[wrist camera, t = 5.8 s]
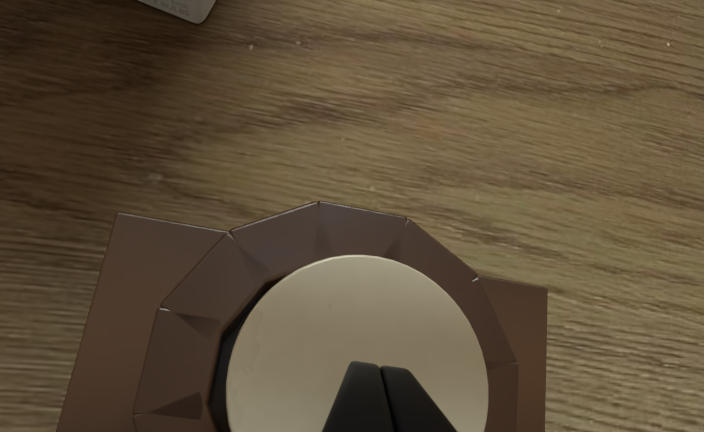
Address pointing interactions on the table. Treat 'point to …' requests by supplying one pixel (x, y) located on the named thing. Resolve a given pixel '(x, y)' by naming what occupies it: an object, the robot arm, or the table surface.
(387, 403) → the robot arm
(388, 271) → the lamp switch
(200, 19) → the light bulb box
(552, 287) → the table surface
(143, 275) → the switch block
